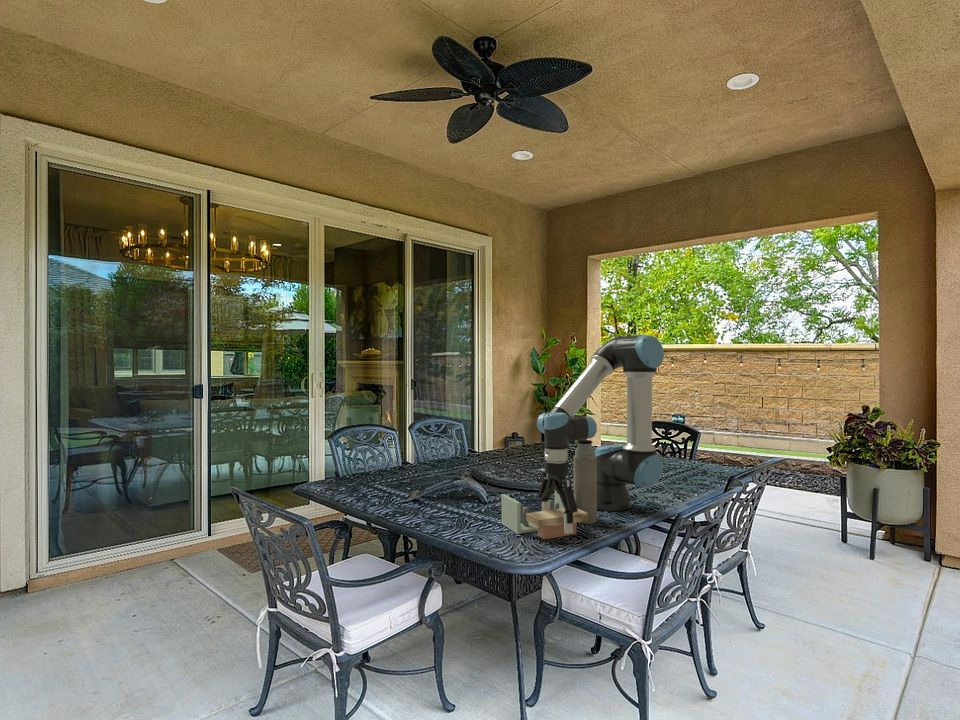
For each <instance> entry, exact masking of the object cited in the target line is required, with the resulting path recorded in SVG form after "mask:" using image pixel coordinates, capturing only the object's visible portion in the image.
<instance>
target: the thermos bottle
mask: <svg viewBox="0 0 960 720" xmlns="http://www.w3.org/2000/svg"><path fill="white" fill-rule="evenodd" d="M577 443H578V444H577V448H575V451H574V454H575V455H573V456H572V457H573V460H572V461H573V494H574V495H576V506H577V508H578V509H580V510H582V511H584V512H587V516H588V521H582V522H577V524H578V523H579V524H587V525H589V524H595V523H597V522H598V509H597V457H596V456H595V449H593V445H592V444H593V441H592V440H591V439H590V440H589V439H586V440H584V439H583V440H577Z"/></svg>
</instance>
